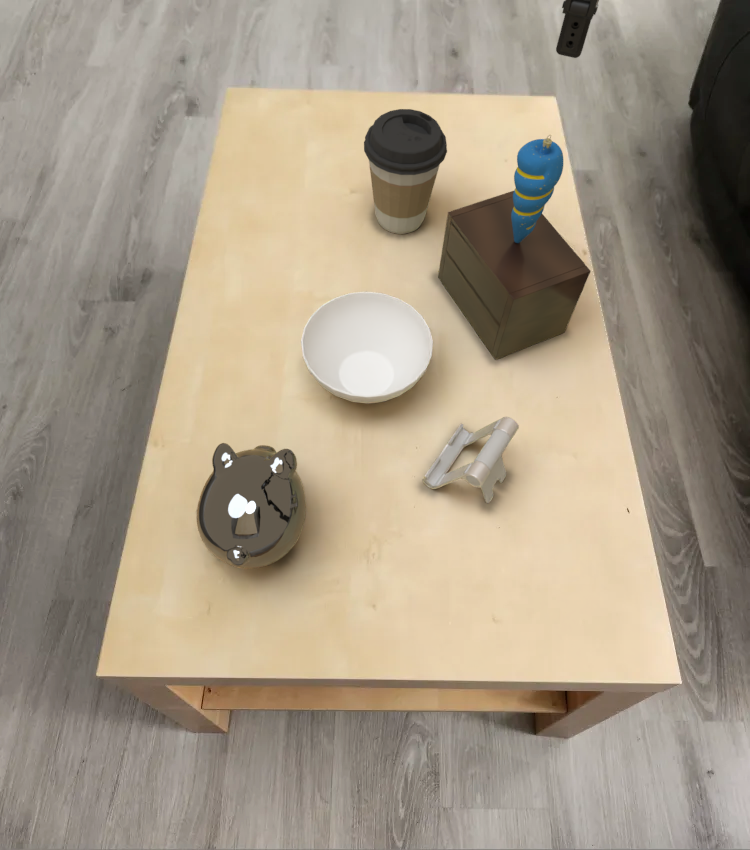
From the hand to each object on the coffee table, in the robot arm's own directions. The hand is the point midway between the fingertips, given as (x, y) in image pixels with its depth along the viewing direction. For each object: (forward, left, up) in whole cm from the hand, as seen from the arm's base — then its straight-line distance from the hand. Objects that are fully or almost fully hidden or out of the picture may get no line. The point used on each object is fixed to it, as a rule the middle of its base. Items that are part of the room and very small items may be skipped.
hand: (576, 28), depth 62 cm
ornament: (0, 0, -26) cm, 26 cm away
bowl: (+22, +3, -38) cm, 44 cm away
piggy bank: (+42, +17, -38) cm, 59 cm away
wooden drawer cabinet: (0, 0, -38) cm, 38 cm away
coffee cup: (+5, -21, -38) cm, 44 cm away
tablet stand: (+17, +21, -38) cm, 47 cm away
